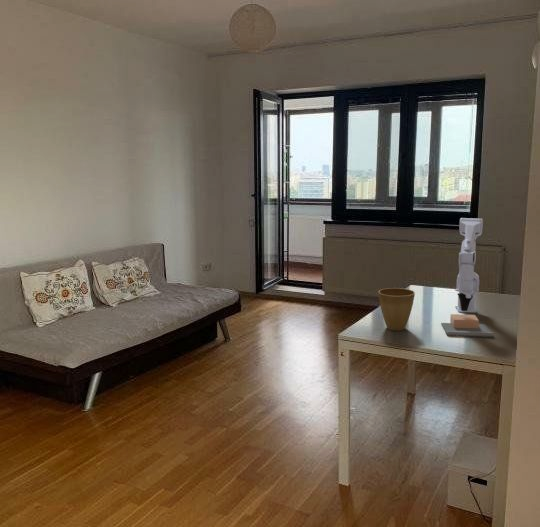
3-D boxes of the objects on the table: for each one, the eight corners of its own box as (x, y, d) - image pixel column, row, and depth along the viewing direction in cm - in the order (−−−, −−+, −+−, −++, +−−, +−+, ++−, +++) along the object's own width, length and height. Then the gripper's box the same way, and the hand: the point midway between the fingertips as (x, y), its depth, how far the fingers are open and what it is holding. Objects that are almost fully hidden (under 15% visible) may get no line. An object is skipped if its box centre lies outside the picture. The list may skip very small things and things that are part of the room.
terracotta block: (450, 314, 235) (453, 319, 227) (474, 314, 233) (478, 320, 225) (450, 322, 235) (453, 327, 228) (474, 322, 234) (478, 328, 226)
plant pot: (417, 325, 233) (419, 289, 230) (407, 335, 220) (408, 297, 217) (384, 321, 240) (385, 286, 237) (372, 330, 228) (373, 293, 225)
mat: (441, 324, 235) (441, 320, 234) (484, 325, 232) (484, 321, 232) (447, 335, 219) (447, 331, 219) (493, 337, 217) (494, 333, 216)
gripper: (453, 275, 236) (451, 305, 239) (459, 283, 222) (457, 314, 224) (469, 275, 235) (468, 306, 238) (477, 283, 221) (475, 315, 223)
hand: (464, 310), depth 231 cm, fingers closed
